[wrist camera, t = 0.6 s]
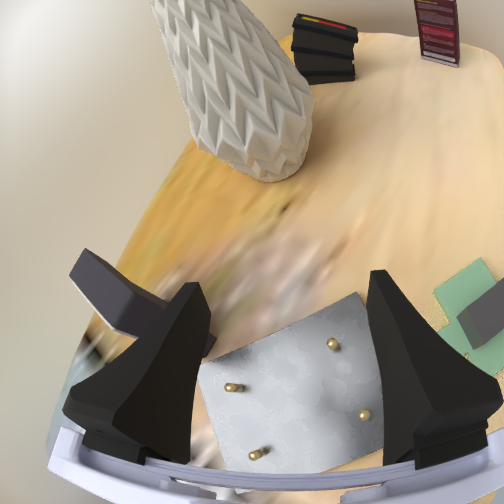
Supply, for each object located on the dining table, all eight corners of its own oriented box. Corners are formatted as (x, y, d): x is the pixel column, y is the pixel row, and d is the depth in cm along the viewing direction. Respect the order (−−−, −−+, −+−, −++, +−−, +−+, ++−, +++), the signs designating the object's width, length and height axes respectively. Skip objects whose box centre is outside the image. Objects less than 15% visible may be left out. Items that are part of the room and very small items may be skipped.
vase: (280, 114, 49) (198, -48, 22) (353, 149, 39) (279, -79, 12) (208, 172, 48) (85, 14, 21) (268, 226, 39) (105, -11, 12)
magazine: (285, 74, 52) (295, 12, 38) (347, 89, 52) (367, 30, 38) (282, 83, 51) (293, 18, 37) (348, 99, 50) (370, 38, 37)
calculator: (148, 321, 39) (64, 280, 27) (164, 295, 40) (83, 246, 28) (202, 364, 33) (108, 336, 21) (220, 334, 34) (134, 291, 22)
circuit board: (544, 325, 19) (564, 313, 15) (448, 405, 21) (462, 407, 17) (498, 245, 25) (511, 224, 22) (402, 311, 28) (407, 298, 24)
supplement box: (460, 60, 40) (456, -4, 27) (457, 68, 39) (455, 1, 26) (424, 50, 45) (416, -11, 32) (419, 58, 44) (411, -7, 31)
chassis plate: (420, 425, 21) (426, 429, 18) (240, 491, 24) (226, 499, 21) (356, 294, 30) (355, 283, 27) (199, 368, 33) (182, 364, 30)
